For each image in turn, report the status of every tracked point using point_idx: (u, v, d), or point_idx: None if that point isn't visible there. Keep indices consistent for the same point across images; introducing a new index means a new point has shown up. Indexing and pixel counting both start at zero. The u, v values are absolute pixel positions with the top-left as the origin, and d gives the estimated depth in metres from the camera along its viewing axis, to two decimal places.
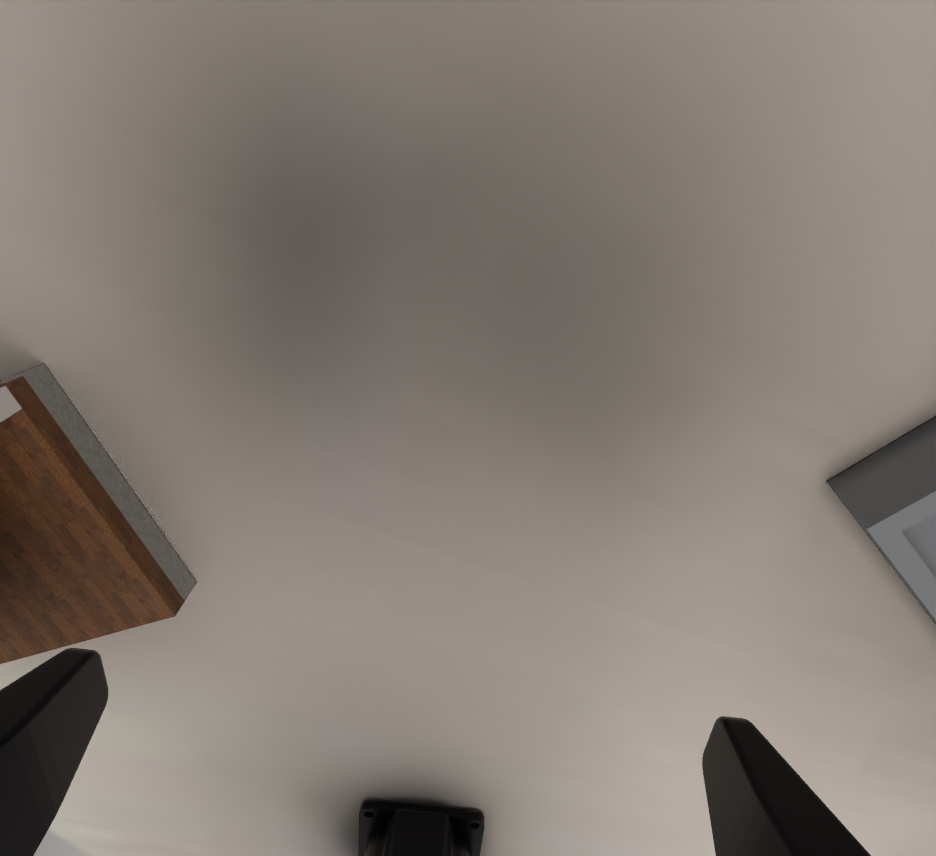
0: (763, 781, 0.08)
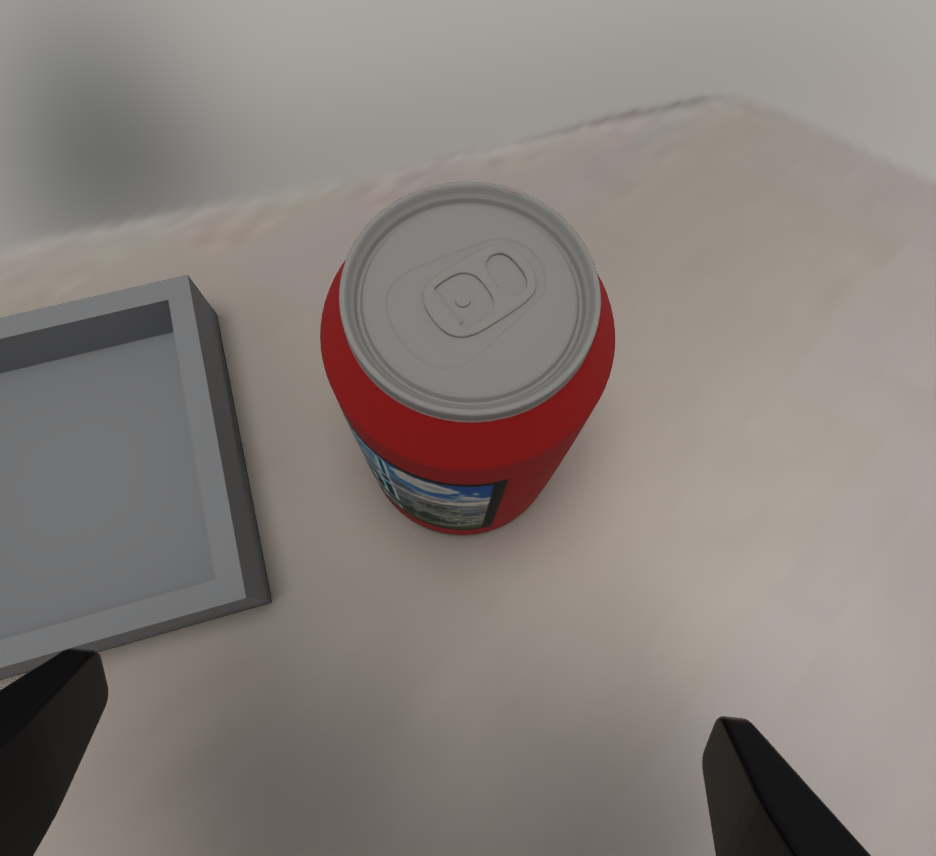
0: (763, 781, 0.08)
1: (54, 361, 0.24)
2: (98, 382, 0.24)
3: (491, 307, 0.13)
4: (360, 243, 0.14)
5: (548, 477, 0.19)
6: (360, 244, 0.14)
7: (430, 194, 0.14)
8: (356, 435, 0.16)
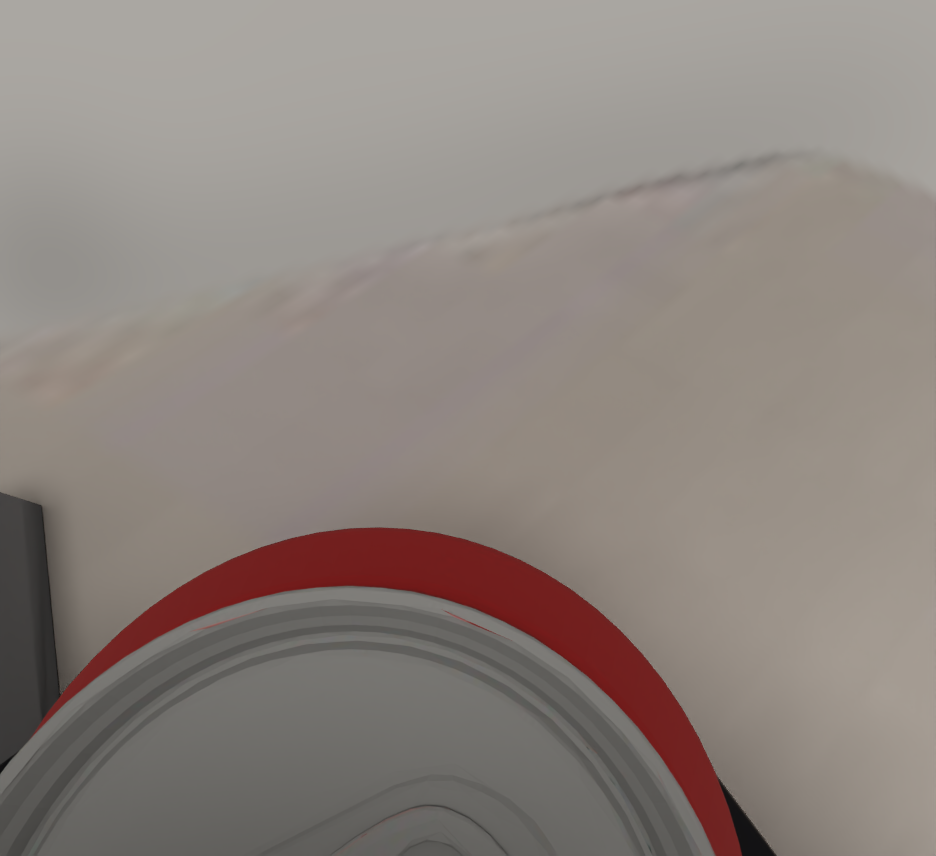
0: None
1: None
2: None
3: None
4: None
5: None
6: None
7: (224, 633, 0.05)
8: None
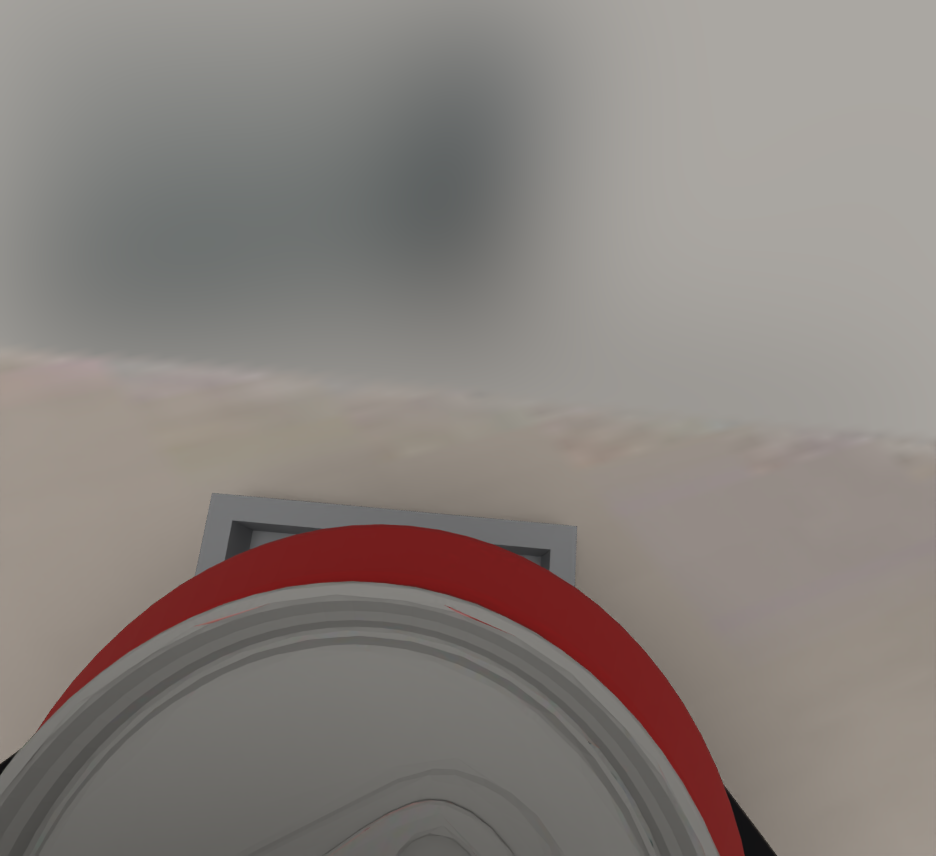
0: None
1: None
2: None
3: None
4: None
5: None
6: None
7: (228, 628, 0.05)
8: None
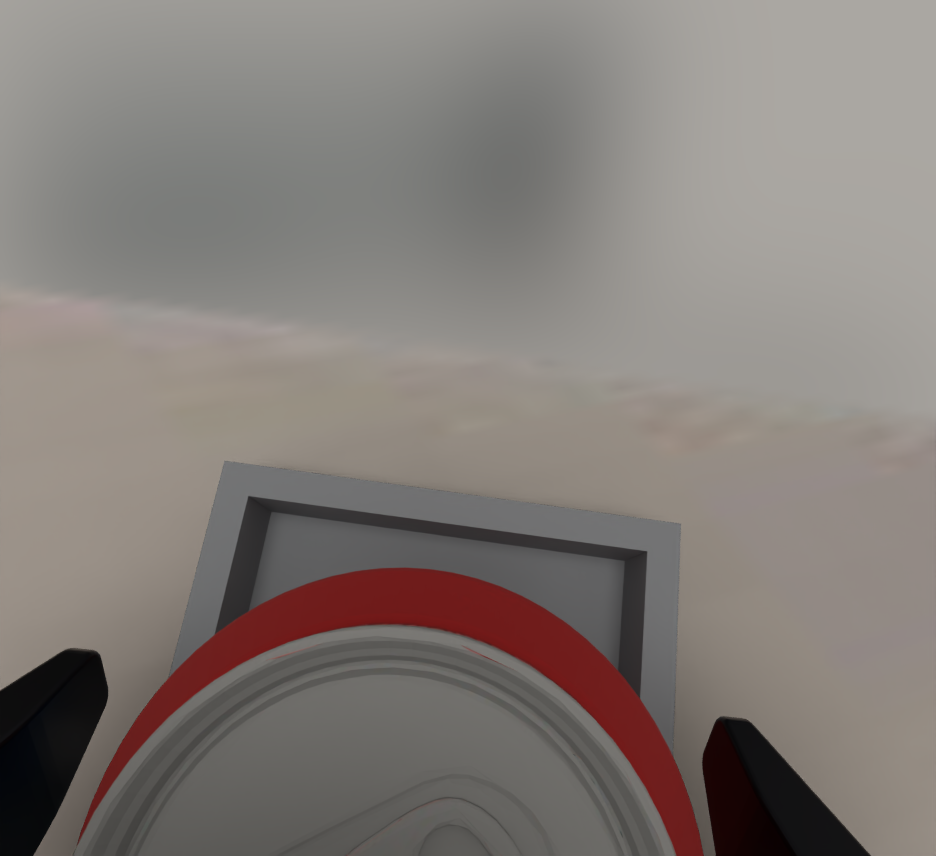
0: (763, 781, 0.08)
1: (441, 535, 0.18)
2: None
3: None
4: (109, 814, 0.06)
5: None
6: (109, 817, 0.06)
7: (291, 661, 0.06)
8: None
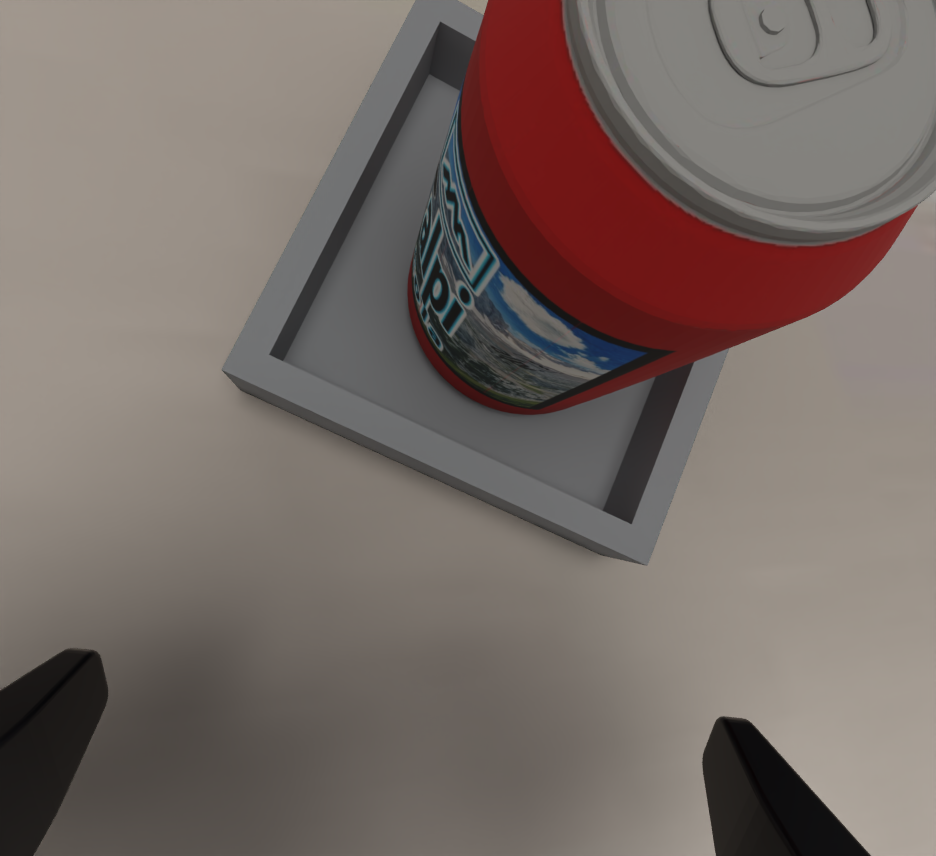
0: (763, 781, 0.08)
1: None
2: None
3: (812, 52, 0.08)
4: None
5: None
6: None
7: None
8: (467, 211, 0.10)
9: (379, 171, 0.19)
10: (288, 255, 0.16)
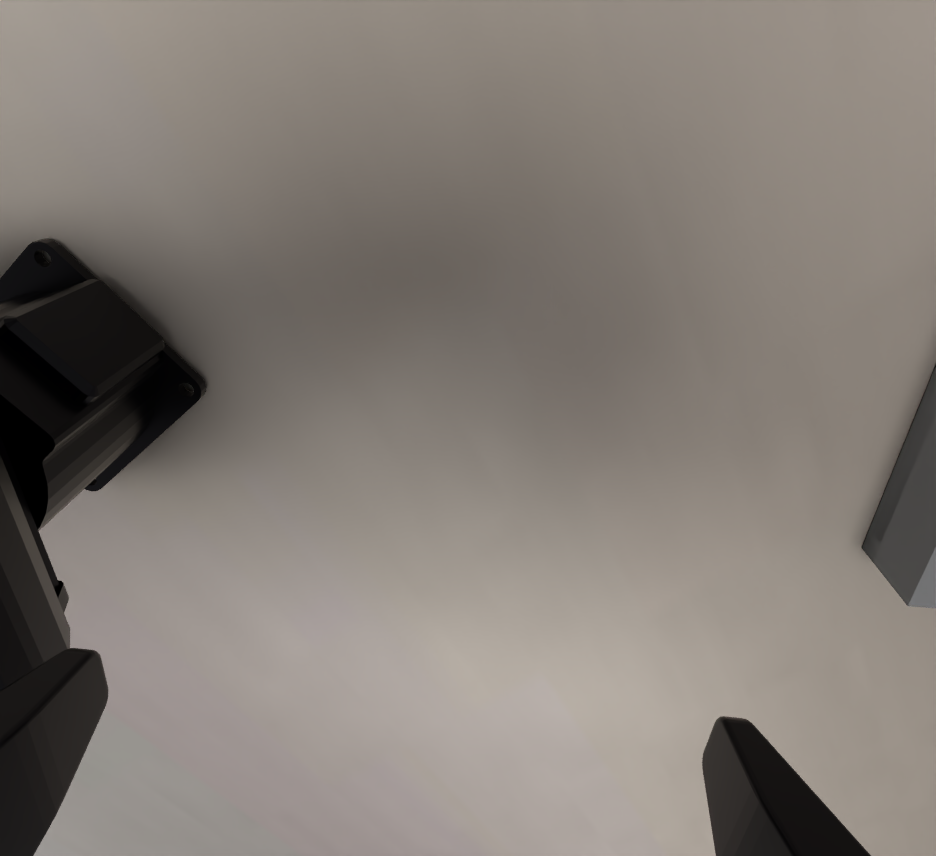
0: (763, 781, 0.08)
1: None
2: None
3: None
4: None
5: None
6: None
7: None
8: None
9: None
10: None
